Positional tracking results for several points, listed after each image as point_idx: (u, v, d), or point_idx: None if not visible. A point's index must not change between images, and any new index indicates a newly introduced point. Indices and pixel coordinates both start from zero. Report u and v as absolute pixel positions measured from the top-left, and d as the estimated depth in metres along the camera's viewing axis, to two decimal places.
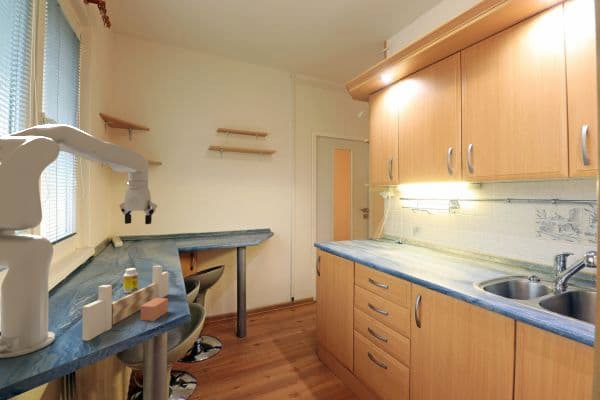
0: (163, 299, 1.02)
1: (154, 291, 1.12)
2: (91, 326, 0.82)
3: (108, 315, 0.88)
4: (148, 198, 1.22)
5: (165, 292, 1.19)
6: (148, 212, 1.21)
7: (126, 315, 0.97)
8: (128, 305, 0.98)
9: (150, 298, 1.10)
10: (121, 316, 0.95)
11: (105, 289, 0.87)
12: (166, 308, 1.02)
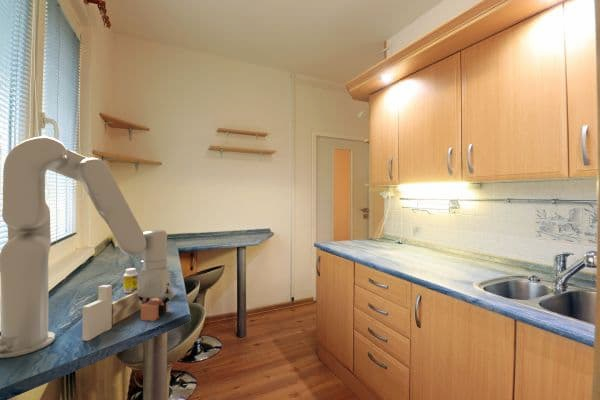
0: None
1: None
2: (91, 326, 0.82)
3: (108, 315, 0.88)
4: (167, 281, 0.99)
5: None
6: (163, 302, 0.98)
7: (126, 315, 0.97)
8: (128, 305, 0.98)
9: (150, 298, 1.10)
10: (121, 316, 0.95)
11: (105, 289, 0.87)
12: (166, 308, 1.02)
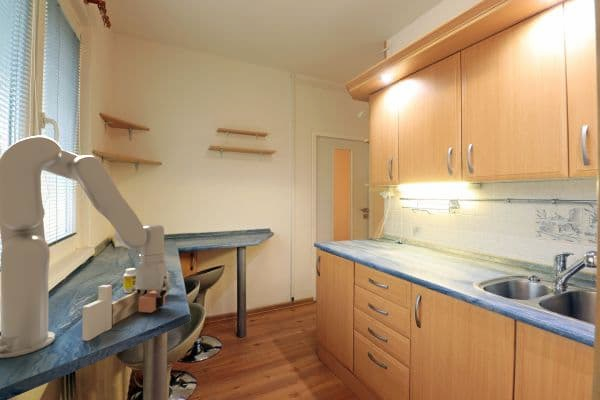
0: None
1: None
2: (91, 326, 0.82)
3: (108, 315, 0.88)
4: (164, 274, 1.02)
5: None
6: (160, 295, 1.01)
7: (126, 315, 0.97)
8: (128, 305, 0.98)
9: None
10: (121, 316, 0.95)
11: (105, 289, 0.87)
12: (163, 300, 1.05)
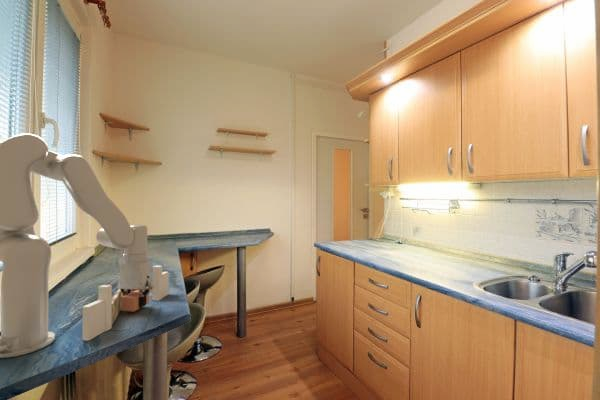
0: None
1: None
2: (91, 326, 0.82)
3: (108, 315, 0.88)
4: (147, 273, 1.03)
5: (165, 292, 1.19)
6: (143, 294, 1.02)
7: (116, 315, 0.97)
8: (117, 305, 0.98)
9: None
10: (115, 316, 0.95)
11: (105, 289, 0.87)
12: (147, 299, 1.06)
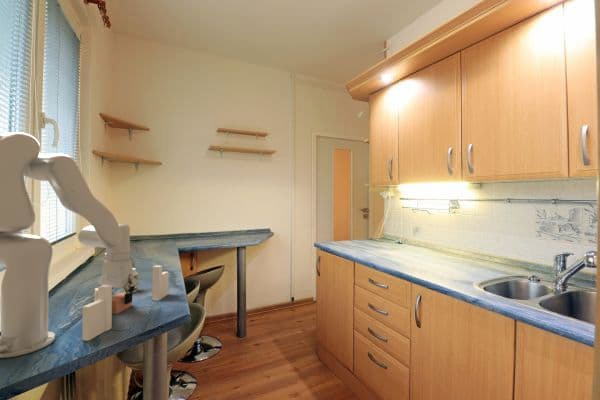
0: None
1: None
2: (91, 326, 0.82)
3: (108, 315, 0.88)
4: (129, 272, 1.04)
5: (165, 292, 1.19)
6: (128, 290, 1.03)
7: None
8: None
9: None
10: None
11: (105, 289, 0.87)
12: None
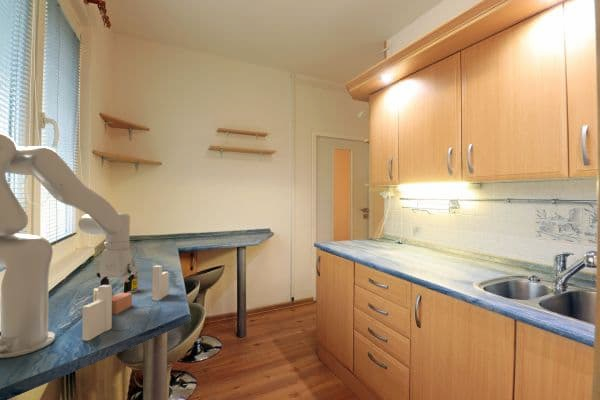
0: (127, 294, 1.07)
1: None
2: (91, 326, 0.82)
3: (108, 315, 0.88)
4: (128, 261, 1.03)
5: (165, 292, 1.19)
6: (127, 279, 1.02)
7: None
8: None
9: None
10: None
11: (105, 289, 0.87)
12: (130, 302, 1.07)
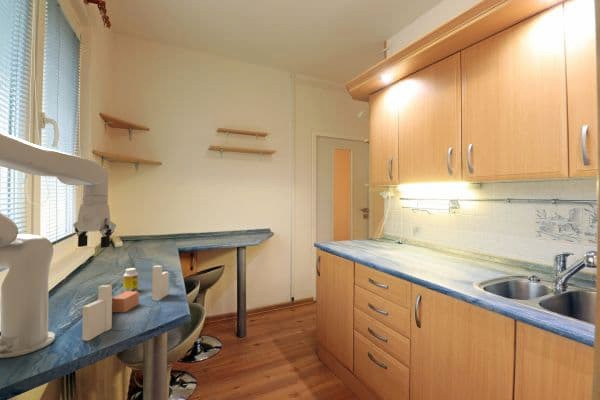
0: (134, 292, 1.09)
1: None
2: (91, 326, 0.82)
3: (108, 315, 0.88)
4: (106, 216, 1.01)
5: (165, 292, 1.19)
6: (104, 233, 0.99)
7: None
8: None
9: None
10: None
11: (105, 289, 0.87)
12: (137, 301, 1.09)
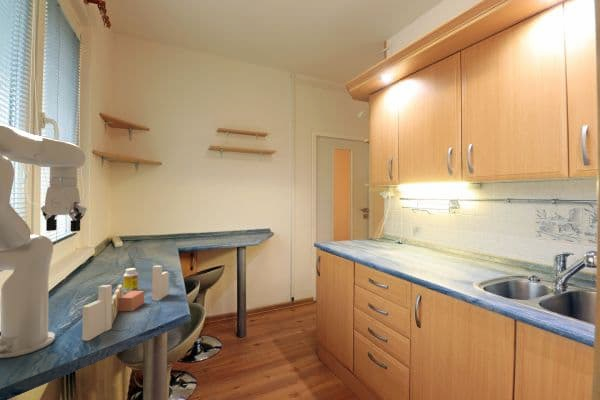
0: (140, 291, 1.10)
1: (121, 292, 1.10)
2: (91, 326, 0.82)
3: (108, 315, 0.88)
4: (75, 199, 0.98)
5: (165, 292, 1.19)
6: (74, 217, 0.97)
7: (115, 315, 0.97)
8: (115, 305, 0.97)
9: None
10: (114, 316, 0.95)
11: (105, 289, 0.87)
12: (143, 300, 1.10)
